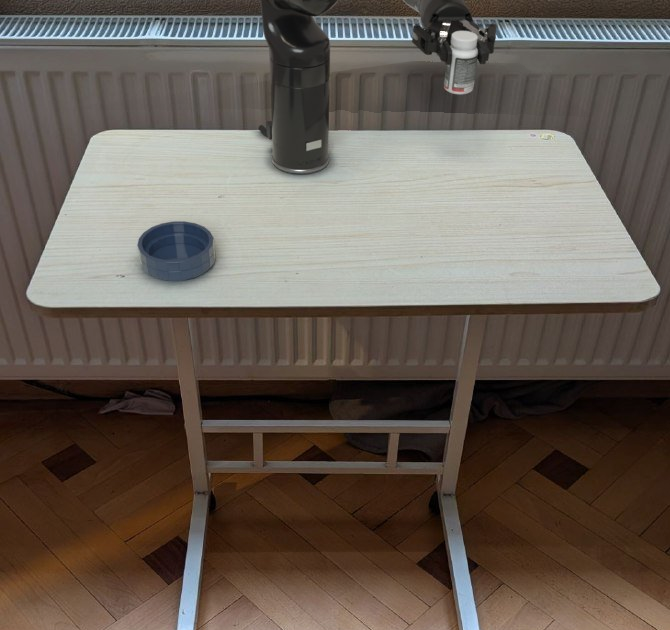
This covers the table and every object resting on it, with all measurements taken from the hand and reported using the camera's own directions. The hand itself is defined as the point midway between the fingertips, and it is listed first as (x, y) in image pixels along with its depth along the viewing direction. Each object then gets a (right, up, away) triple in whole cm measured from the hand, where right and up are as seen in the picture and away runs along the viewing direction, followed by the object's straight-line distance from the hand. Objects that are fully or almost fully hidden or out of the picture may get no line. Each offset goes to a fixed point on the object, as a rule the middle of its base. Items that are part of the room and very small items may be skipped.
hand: (466, 58), depth 127 cm
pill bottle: (0, -3, +6) cm, 7 cm away
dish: (-42, -33, -11) cm, 55 cm away
